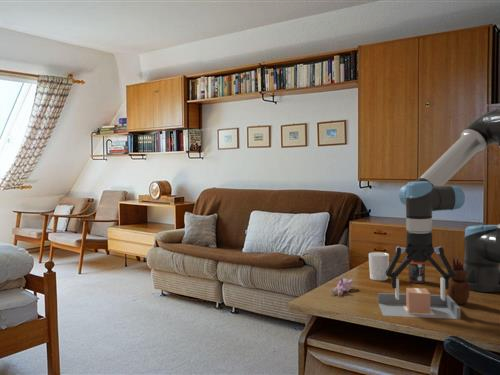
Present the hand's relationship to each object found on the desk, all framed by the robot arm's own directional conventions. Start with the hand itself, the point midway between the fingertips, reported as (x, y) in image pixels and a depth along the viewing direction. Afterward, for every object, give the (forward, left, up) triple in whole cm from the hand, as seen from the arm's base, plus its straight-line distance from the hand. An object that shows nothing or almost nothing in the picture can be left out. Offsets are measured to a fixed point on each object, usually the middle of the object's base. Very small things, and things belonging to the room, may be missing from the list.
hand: (419, 298), depth 139 cm
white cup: (+8, -39, -4) cm, 40 cm away
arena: (+1, 0, -4) cm, 4 cm away
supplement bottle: (-6, -36, -4) cm, 37 cm away
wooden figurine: (-14, -10, -4) cm, 18 cm away
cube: (+1, 0, -3) cm, 3 cm away
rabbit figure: (+23, -18, -4) cm, 30 cm away
